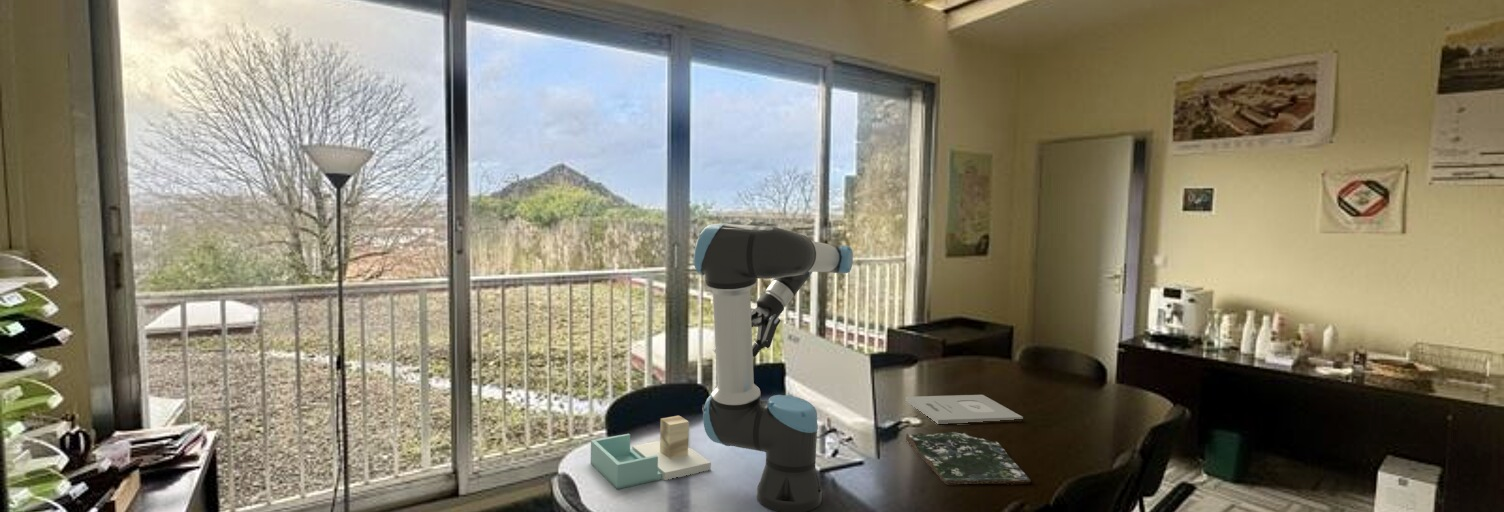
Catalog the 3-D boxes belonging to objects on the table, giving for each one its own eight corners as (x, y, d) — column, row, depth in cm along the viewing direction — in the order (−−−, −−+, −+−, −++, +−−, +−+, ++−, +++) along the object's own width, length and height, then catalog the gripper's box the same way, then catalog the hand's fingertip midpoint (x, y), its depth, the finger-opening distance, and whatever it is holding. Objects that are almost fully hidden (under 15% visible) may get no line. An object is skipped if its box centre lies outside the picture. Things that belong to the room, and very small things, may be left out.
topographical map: (945, 487, 166) (946, 475, 165) (903, 439, 198) (903, 429, 198) (1043, 486, 168) (1044, 474, 168) (985, 439, 201) (986, 429, 201)
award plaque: (905, 402, 235) (905, 396, 234) (982, 400, 241) (982, 394, 240) (937, 426, 211) (938, 419, 210) (1022, 423, 216) (1023, 416, 216)
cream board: (710, 470, 170) (710, 462, 170) (664, 480, 163) (664, 472, 163) (675, 444, 187) (675, 437, 186) (632, 453, 179) (632, 445, 179)
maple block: (688, 454, 174) (688, 421, 173) (669, 458, 171) (669, 424, 170) (678, 447, 179) (679, 415, 178) (659, 451, 176) (660, 418, 175)
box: (661, 479, 163) (661, 455, 163) (617, 489, 157) (617, 464, 156) (631, 454, 178) (632, 433, 178) (590, 462, 172) (590, 440, 171)
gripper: (809, 316, 181) (762, 377, 173) (756, 301, 201) (713, 356, 194) (794, 298, 177) (746, 360, 170) (742, 285, 197) (697, 340, 190)
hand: (728, 358), depth 182 cm, fingers open, 13 cm apart
